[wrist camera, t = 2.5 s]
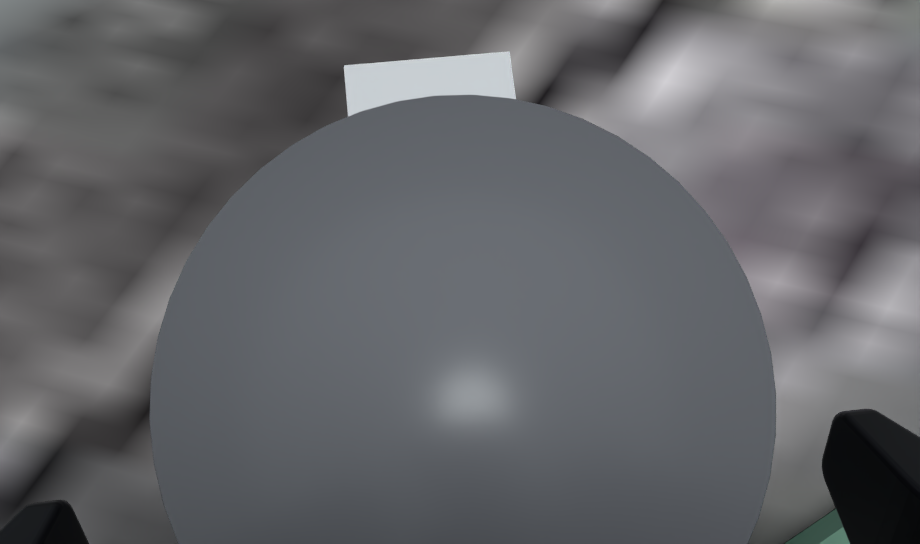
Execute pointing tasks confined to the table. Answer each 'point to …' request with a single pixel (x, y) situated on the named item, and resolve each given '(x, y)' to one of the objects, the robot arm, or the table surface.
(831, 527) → the header board
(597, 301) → the plug
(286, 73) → the table surface
